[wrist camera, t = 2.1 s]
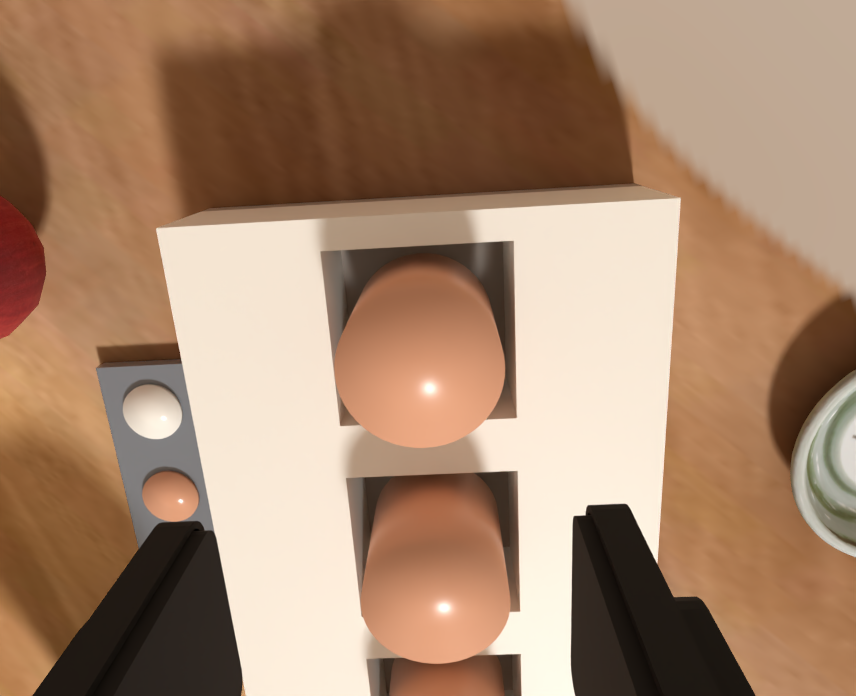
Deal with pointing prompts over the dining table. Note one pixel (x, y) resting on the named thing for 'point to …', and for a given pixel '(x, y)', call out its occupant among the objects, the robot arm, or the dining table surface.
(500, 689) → the button
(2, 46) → the dining table surface
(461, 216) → the board
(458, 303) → the button
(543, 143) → the dining table surface
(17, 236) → the onion
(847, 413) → the saucer
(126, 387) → the pattern tile
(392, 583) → the button
